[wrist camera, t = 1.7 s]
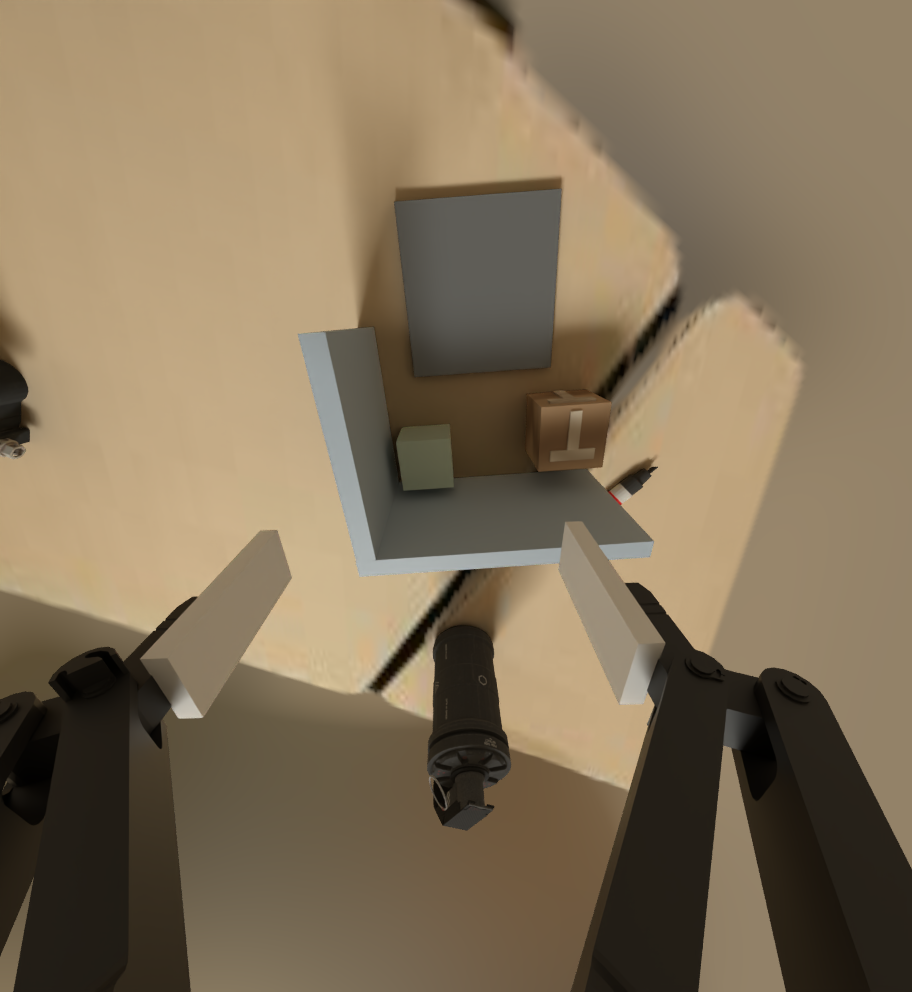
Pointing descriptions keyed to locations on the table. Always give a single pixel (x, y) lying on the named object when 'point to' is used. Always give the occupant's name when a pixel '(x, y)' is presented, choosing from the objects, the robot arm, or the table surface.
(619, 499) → the marker
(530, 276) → the mat
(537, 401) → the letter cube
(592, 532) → the screen
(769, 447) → the table surface
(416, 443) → the plain cube
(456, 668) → the grenade
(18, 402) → the scope
